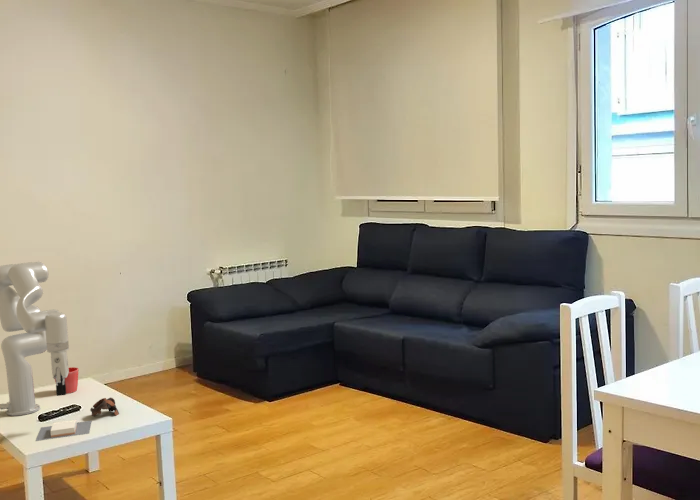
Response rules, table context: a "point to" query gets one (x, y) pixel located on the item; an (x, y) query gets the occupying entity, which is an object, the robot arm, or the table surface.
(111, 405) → the broken clay vessel
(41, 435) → the mat
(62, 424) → the tile
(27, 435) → the table surface
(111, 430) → the table surface
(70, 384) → the flower pot
